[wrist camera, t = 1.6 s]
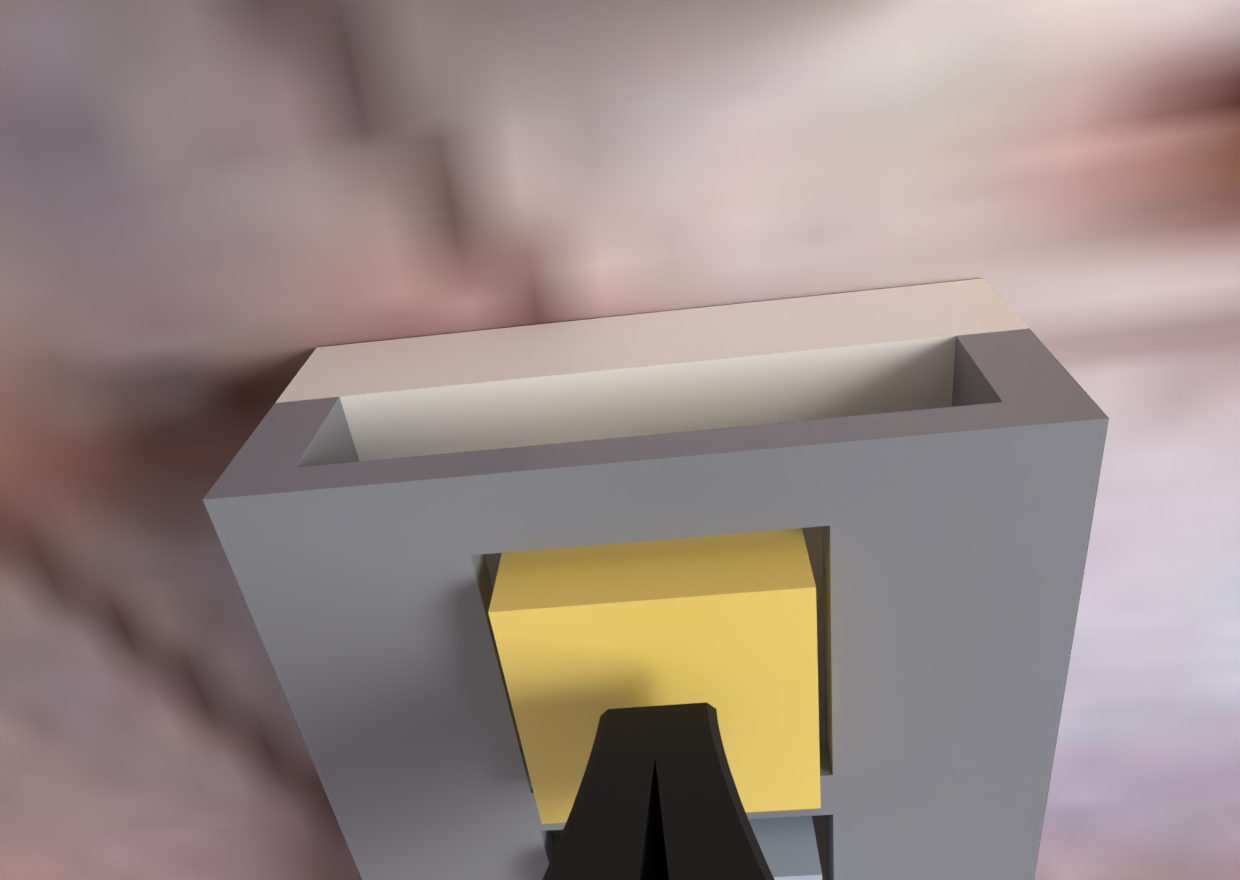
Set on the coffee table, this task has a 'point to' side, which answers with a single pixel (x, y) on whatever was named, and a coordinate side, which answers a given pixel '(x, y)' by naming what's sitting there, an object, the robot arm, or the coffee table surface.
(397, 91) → the coffee table surface
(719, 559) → the key
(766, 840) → the key
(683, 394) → the keypad
